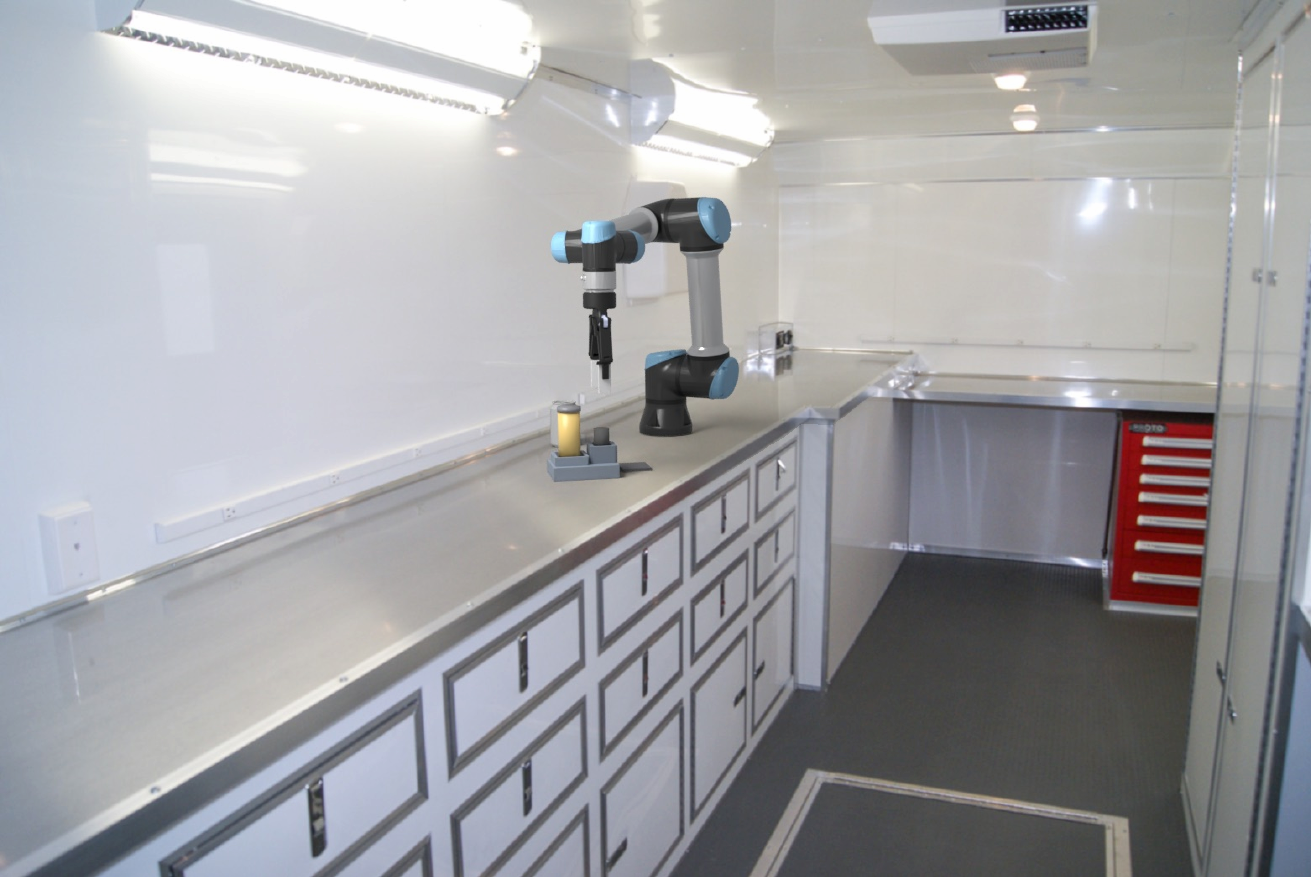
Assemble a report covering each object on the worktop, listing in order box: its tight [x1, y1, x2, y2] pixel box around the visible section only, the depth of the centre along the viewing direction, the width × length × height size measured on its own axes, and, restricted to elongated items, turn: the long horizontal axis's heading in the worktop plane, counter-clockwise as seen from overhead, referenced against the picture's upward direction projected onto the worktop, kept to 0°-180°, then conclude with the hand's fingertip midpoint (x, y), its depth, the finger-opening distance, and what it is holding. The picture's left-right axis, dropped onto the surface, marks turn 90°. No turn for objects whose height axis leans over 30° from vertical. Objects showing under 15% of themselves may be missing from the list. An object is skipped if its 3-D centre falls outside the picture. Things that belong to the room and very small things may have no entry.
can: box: [549, 399, 577, 449], centre depth 273 cm, size 8×8×12 cm
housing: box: [546, 440, 621, 483], centre depth 238 cm, size 15×11×7 cm
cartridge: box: [557, 404, 582, 457], centre depth 236 cm, size 5×5×13 cm
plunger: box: [593, 426, 610, 446], centre depth 239 cm, size 4×4×5 cm
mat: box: [617, 461, 653, 473], centre depth 246 cm, size 7×7×1 cm
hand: (600, 390), depth 236 cm, fingers open, 9 cm apart
